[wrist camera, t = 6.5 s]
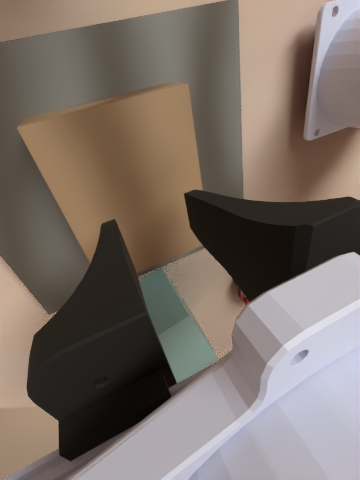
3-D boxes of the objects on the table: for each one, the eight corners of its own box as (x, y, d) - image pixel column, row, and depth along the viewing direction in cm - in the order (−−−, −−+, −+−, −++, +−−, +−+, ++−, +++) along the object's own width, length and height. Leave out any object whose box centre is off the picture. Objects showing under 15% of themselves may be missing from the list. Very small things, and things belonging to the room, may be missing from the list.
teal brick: (161, 266, 22) (188, 315, 18) (190, 311, 27) (218, 358, 23) (113, 296, 22) (128, 354, 17) (152, 336, 27) (172, 389, 22)
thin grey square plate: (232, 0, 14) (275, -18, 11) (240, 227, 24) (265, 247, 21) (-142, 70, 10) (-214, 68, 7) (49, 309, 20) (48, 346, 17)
